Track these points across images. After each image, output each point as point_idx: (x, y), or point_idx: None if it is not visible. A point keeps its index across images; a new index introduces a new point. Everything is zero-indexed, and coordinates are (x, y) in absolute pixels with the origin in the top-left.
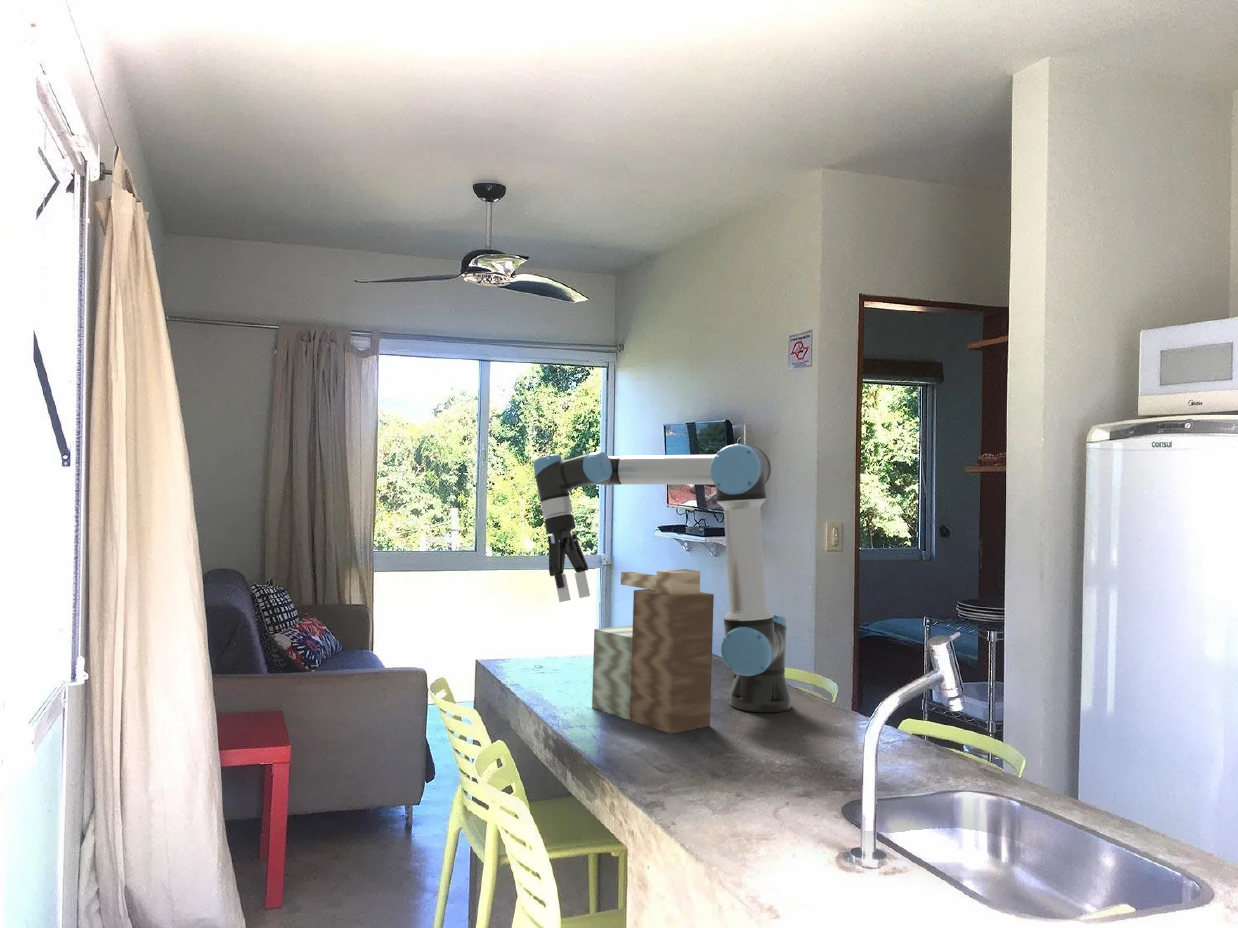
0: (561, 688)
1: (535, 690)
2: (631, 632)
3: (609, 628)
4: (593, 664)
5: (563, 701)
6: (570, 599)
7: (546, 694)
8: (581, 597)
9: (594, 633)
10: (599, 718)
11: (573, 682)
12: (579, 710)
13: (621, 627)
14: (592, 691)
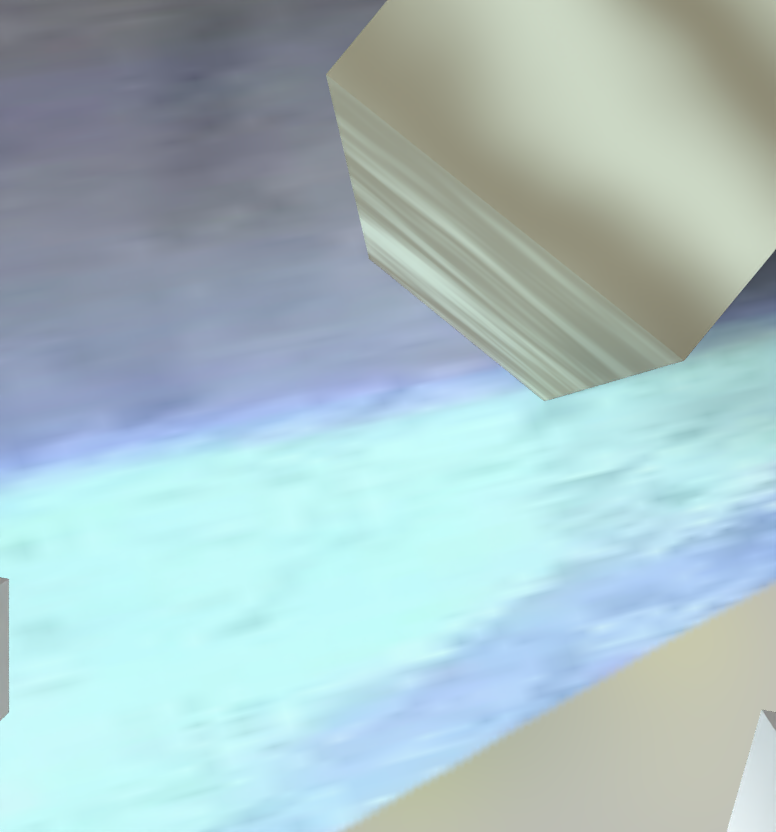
0: (196, 628)
1: (277, 740)
2: (737, 3)
3: (585, 236)
4: (596, 384)
5: (459, 555)
6: (770, 714)
7: (344, 667)
8: (5, 688)
9: (670, 362)
10: (722, 329)
11: (46, 601)
12: (607, 445)
13: (485, 143)
14: (559, 396)
